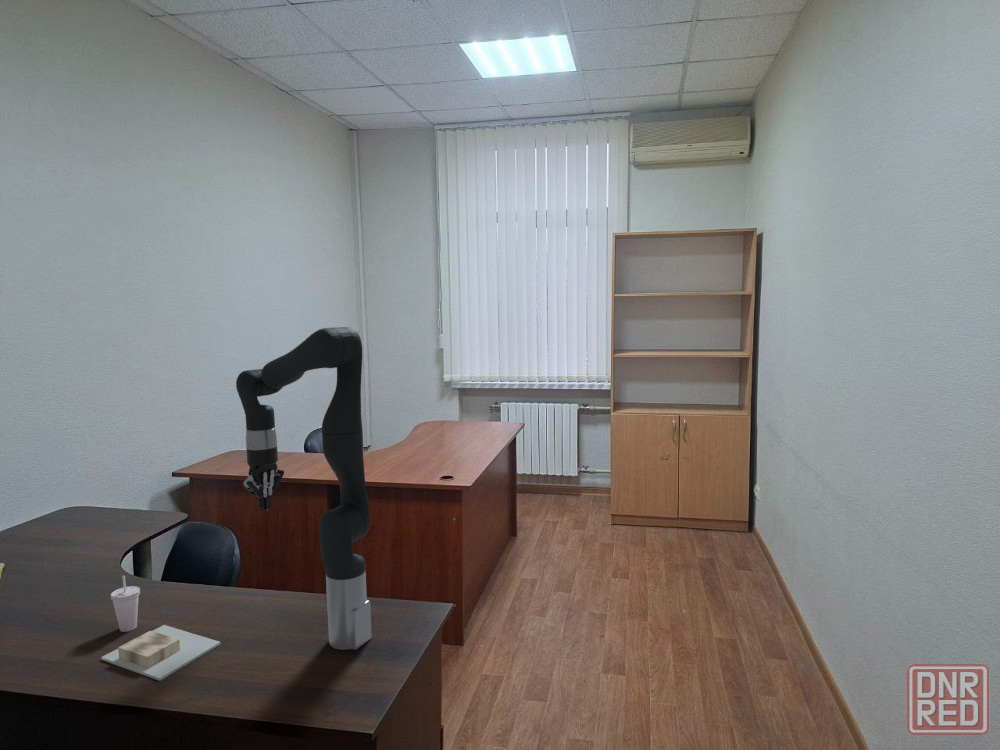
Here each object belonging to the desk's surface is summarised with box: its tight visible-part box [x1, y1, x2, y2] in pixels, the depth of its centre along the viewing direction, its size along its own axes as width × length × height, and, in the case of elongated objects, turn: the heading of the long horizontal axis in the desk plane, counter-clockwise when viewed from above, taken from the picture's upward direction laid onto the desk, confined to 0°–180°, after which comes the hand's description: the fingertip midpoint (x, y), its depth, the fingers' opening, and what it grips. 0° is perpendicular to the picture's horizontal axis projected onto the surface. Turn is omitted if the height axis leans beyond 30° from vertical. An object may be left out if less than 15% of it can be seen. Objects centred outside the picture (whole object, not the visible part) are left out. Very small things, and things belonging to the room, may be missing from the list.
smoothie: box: [110, 574, 141, 633], centre depth 158 cm, size 6×6×14 cm
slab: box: [117, 630, 180, 668], centre depth 145 cm, size 10×3×8 cm
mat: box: [100, 624, 222, 682], centre depth 147 cm, size 20×16×1 cm
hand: (265, 509), depth 166 cm, fingers closed
